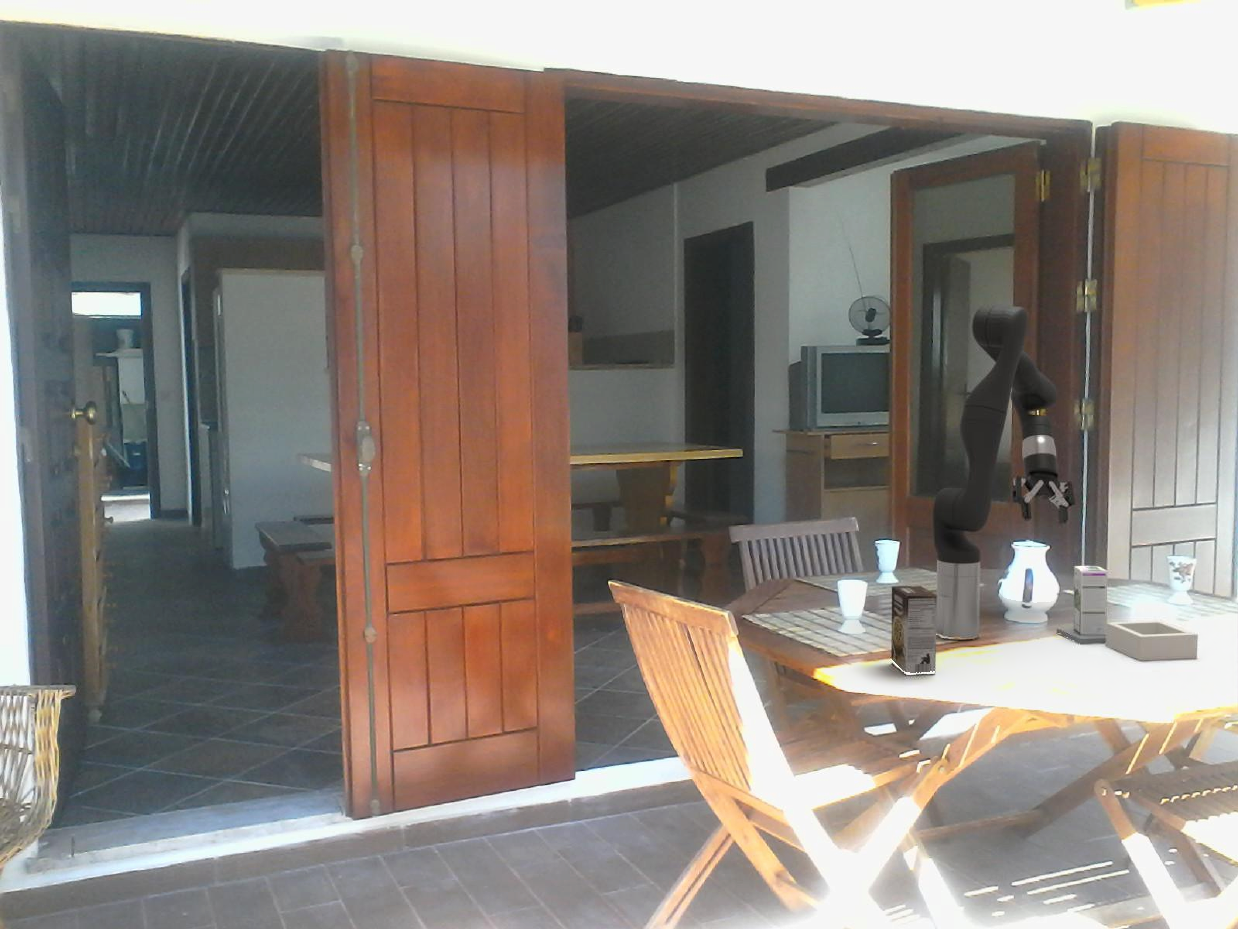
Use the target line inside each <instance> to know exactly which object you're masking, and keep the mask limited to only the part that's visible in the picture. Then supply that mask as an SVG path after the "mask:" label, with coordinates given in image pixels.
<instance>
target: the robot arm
mask: <svg viewBox="0 0 1238 929" xmlns="http://www.w3.org/2000/svg"><path fill="white" fill-rule="evenodd" d="M1028 329H1029V313H1028V311H1027V310H1026V308H1024V307H1022V306H1010V305H984V306H981V307H979V308H978V309H977V310H976V311H975V313H974V315H973V319H972V323H971V330H972V331H971V332H972V336H973V338H974V340H975V342H976V343H977V344H978V346H979V347H980V348H981V349H982V350H983V351H984V352H985V354H987V355H988V357H990V358H991V359H992V360H993V361H994V362H995V364H994V365H993V367H992V368H991V370H990V371H989V372H988V373H987V374H986V376H984V378H982V380H980V382H979V383H978V384H977V385H976V386H975V387H974V388H973V389H972V391H971V392H970V393H969V394H968V396H967V398H966V399H965V401H964V405H963V411H962V415H961V419H960V424H959V433H960V437H961V441H962V444H963V447H964V450H965V454H966V456H967V460H968V474H967V475H968V476H967V481H966V486H965V488H960V487H959V488H958V487H945V488H942V489H941V490H940V491H938V493H937V494H936V496H935V499H934V501H933V508H932V524H933V527H932V528H933V545H934V548H935V551H936V591H933V592H932V593H933V594H935V595H937V624H936V632H937V633H939V634H941V635H943V636H948V637H961V638H973V637H974V638H975V637H978V638H980V600H981V599H980V594H981V593H980V591H981V590H980V589H981V550H980V548H979V547H978V546H977V545H976V544H973V543H972V541H970V540H969V539H968V538H967V536H966V534H965V532H968V533H969V532H970V533H976V532H979V531H981V530H982V529H983V528H984V527H985V525H986V524H987V522H988V519H989V516H990V511H991V506H992V498H993V489H994V479H995V472H996V465H997V461H998V460H997V459H998V456H999V450H1000V446H1001V445H1000V444H1001V441H1002V440H1001V439H1002V436H1003V432H1004V428H1005V424H1006V420H1007V414H1008V410H1009V403H1010V401H1011V404H1012V406H1013V408H1014V410H1015V413H1016V414H1017V417H1018V420H1019V424H1020V430H1021V440H1022V447H1021V448H1022V452H1021V453H1022V455H1021V456H1022V464H1023V474H1024V476H1023V477H1024V478H1022V477H1021V476H1020V475H1017V476H1016V477H1015V478H1013V479H1012V480H1011V490H1012V491H1011V497H1012V502H1013V503H1014V504H1015V503H1017V504H1019V505H1020V509H1021V517H1022V519H1024V521H1025V522H1029V521H1030V520H1031V519H1032V508H1031V503H1030V502H1031V501H1032V499H1033V497H1034V498H1035V499H1043V500H1049V501H1050V502H1051V503H1052V504H1054V505H1055V506H1056V508H1058V510H1057V513H1058V514H1057V515H1058V524H1059V525H1065V524H1067V522H1068V521H1069V512H1068V510H1069V509H1070V508H1071V507H1073V506H1075V505H1076V498H1075V494H1074V488H1073V483H1072V482H1071V481H1067V482H1060V480H1059V469H1058V459H1057V458H1058V457H1057V449H1056V444H1055V440H1054V432H1053V422H1052V420H1051V418H1050V417H1049V416H1047V415H1043V414H1032V413H1030V412H1035V411H1041V410H1046V409H1051V408H1052V407H1054V406H1055V405H1056V403H1057V401H1058V397H1059V396H1058V390H1057V388H1056V386H1055V384H1054V383H1053V382H1052V381H1051V380H1050V379H1049V377H1047V376H1045V375H1044V374H1043V373H1042V372H1040V371H1039V369H1038V367H1037V365H1036V364H1035V362H1034V360H1033V358H1032V357H1031V356H1030V355H1029V354H1028V353H1027V352H1025V351H1024V350H1023V348H1024V345H1025V342H1026V338H1027V334H1028V331H1029V330H1028ZM1023 486H1024V487H1025V488H1026V489H1027V492H1026V493H1025V495H1024V496H1023V492H1022V491H1023V489H1022V487H1023ZM1059 489H1060V490H1061V491H1060V490H1059Z"/></svg>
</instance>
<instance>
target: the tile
mask: <svg viewBox="0 0 1238 929" xmlns="http://www.w3.org/2000/svg"><path fill="white" fill-rule="evenodd" d="M1057 633H1061V634H1062V635H1064V636H1065V637H1064V636H1063V637H1064V638H1066V637H1068V638H1070V639H1071V640H1070V639H1069V640H1070V641H1072V640H1074V641H1075V642H1074V641H1073V642H1074V643H1076V644H1079V643H1080V644H1079V645H1094V644H1093V643H1100V644H1106V635H1081V634H1080V633H1078V632H1077V631H1076V630H1075V629H1074V626H1073V627H1072V626H1071V627H1057V628H1056V634H1057ZM1068 638H1067V639H1068Z"/></svg>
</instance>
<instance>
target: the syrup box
mask: <svg viewBox="0 0 1238 929" xmlns="http://www.w3.org/2000/svg"><path fill="white" fill-rule="evenodd" d="M1073 568H1074V574H1073V576H1074V578H1073V594H1074V595H1073V627H1074V629H1075V630H1076V631H1077V632H1078V633H1080V634H1081V635H1106V623H1108V622H1107V620H1108V571H1107V570H1106V569H1104V568H1103V567H1101V566H1098V565H1074V567H1073Z"/></svg>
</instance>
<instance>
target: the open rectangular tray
mask: <svg viewBox="0 0 1238 929" xmlns="http://www.w3.org/2000/svg"><path fill="white" fill-rule="evenodd" d="M1198 638H1199V634H1198V633H1195V632H1192V631H1189V630H1187V629H1184V628H1182V627H1179V626H1176V625H1173V624H1170V623H1169V622H1165V621H1163V620H1143V621H1141V620H1139V621H1118V622H1117V621H1115V622H1107V623H1106V643H1105V646H1106V647H1108V648H1110V647H1111V648H1110V649H1112V648H1113V650H1114V651H1117V650H1118V651H1117V652H1119V651H1120V652H1119V653H1121V652H1122V653H1121V654H1124V655H1127V656H1128V657H1131V658H1132V657H1133V659H1134V660H1137V661H1139V662H1144V661H1145V662H1146V661H1147V662H1148V661H1166V660H1167V661H1169V660H1187V659H1193V660H1194V659H1198V641H1199V640H1198Z"/></svg>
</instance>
